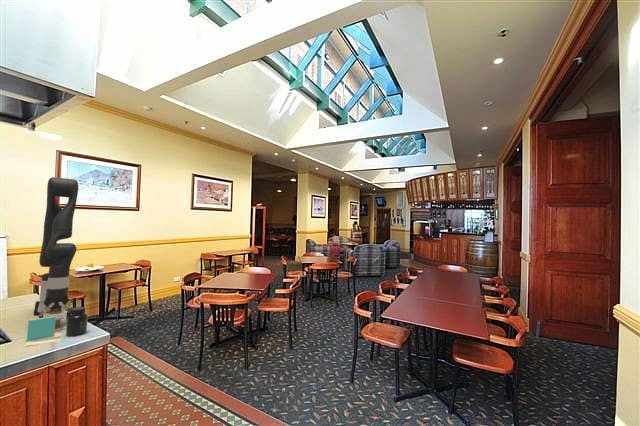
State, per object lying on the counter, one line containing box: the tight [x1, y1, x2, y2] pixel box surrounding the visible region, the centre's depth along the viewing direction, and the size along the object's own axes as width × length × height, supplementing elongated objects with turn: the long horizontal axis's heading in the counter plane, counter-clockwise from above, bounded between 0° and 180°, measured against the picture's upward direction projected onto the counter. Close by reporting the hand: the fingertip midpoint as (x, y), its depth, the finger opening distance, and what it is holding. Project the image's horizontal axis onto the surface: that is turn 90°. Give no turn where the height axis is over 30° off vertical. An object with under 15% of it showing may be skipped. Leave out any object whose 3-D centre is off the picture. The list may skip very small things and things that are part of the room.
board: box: [25, 325, 62, 348], centre depth 120 cm, size 26×10×1 cm, turn 43°
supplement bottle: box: [65, 306, 89, 338], centre depth 122 cm, size 7×7×12 cm
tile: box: [26, 316, 56, 342], centre depth 116 cm, size 2×8×8 cm, turn 133°
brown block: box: [47, 308, 64, 327], centre depth 126 cm, size 11×5×7 cm, turn 43°
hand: (54, 322), depth 129 cm, fingers open, 8 cm apart
